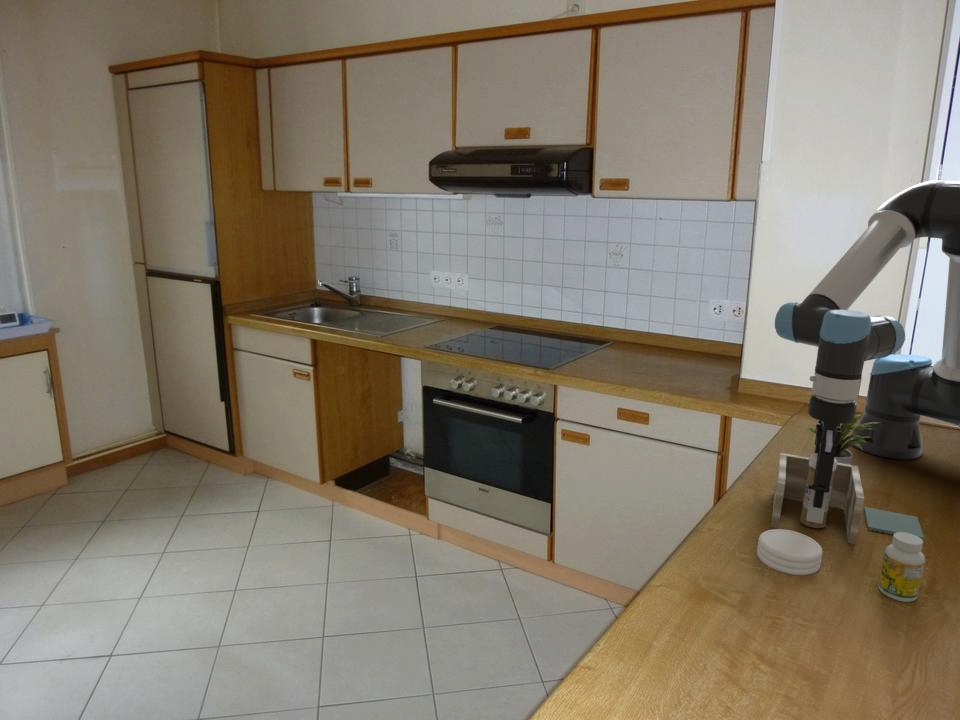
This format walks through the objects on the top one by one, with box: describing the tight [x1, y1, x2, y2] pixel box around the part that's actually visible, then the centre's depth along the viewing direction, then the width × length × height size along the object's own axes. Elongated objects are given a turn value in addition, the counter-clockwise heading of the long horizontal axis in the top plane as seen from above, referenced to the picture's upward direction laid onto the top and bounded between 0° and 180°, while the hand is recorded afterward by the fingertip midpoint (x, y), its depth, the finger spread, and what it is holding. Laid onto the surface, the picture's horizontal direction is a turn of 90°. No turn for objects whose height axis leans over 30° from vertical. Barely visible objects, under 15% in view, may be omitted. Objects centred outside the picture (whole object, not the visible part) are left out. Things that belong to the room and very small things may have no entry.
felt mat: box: [863, 506, 925, 542], centre depth 134 cm, size 9×9×1 cm
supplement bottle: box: [878, 532, 926, 603], centre depth 110 cm, size 5×5×10 cm
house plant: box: [805, 412, 880, 465], centre depth 150 cm, size 14×14×16 cm
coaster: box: [756, 528, 824, 576], centre depth 120 cm, size 10×10×4 cm
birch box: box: [771, 452, 865, 546], centre depth 134 cm, size 16×14×9 cm
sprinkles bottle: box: [799, 452, 837, 529], centre depth 131 cm, size 5×5×13 cm
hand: (814, 515), depth 132 cm, fingers closed on sprinkles bottle, 4 cm apart
